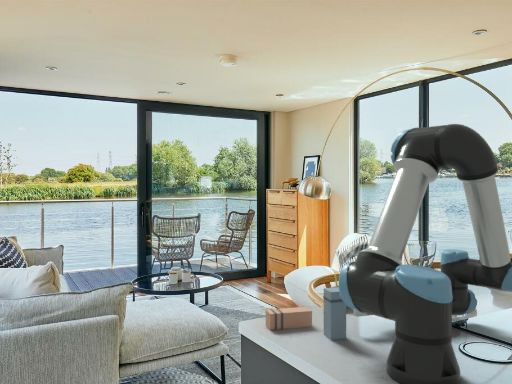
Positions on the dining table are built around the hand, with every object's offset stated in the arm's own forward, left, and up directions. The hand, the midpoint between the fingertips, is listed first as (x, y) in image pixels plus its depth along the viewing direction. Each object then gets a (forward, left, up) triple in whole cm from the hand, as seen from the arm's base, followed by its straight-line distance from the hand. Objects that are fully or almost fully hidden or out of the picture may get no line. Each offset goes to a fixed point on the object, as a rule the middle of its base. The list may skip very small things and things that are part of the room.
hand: (354, 311), depth 122 cm
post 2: (-4, +5, -6) cm, 9 cm away
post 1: (+5, +14, -4) cm, 15 cm away
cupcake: (+26, +8, -7) cm, 28 cm away
